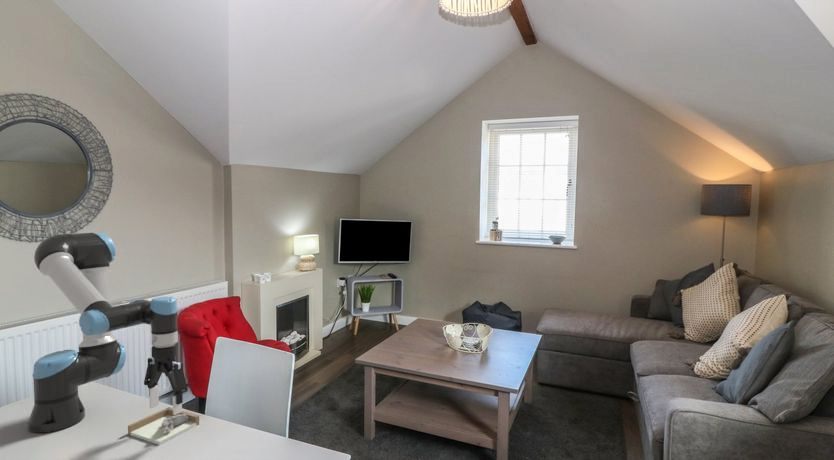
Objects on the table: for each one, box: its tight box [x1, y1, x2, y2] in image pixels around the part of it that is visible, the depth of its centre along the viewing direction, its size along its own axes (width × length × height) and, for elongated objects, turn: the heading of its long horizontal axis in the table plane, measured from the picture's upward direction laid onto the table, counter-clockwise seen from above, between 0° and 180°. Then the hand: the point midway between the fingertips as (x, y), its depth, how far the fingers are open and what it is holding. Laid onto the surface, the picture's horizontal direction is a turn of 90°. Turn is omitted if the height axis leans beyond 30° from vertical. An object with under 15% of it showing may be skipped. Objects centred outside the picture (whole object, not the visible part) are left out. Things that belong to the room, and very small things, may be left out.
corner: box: [127, 407, 200, 446], centre depth 148 cm, size 15×15×3 cm
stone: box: [159, 414, 189, 433], centre depth 147 cm, size 6×12×4 cm, turn 167°
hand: (165, 409), depth 145 cm, fingers open, 10 cm apart
